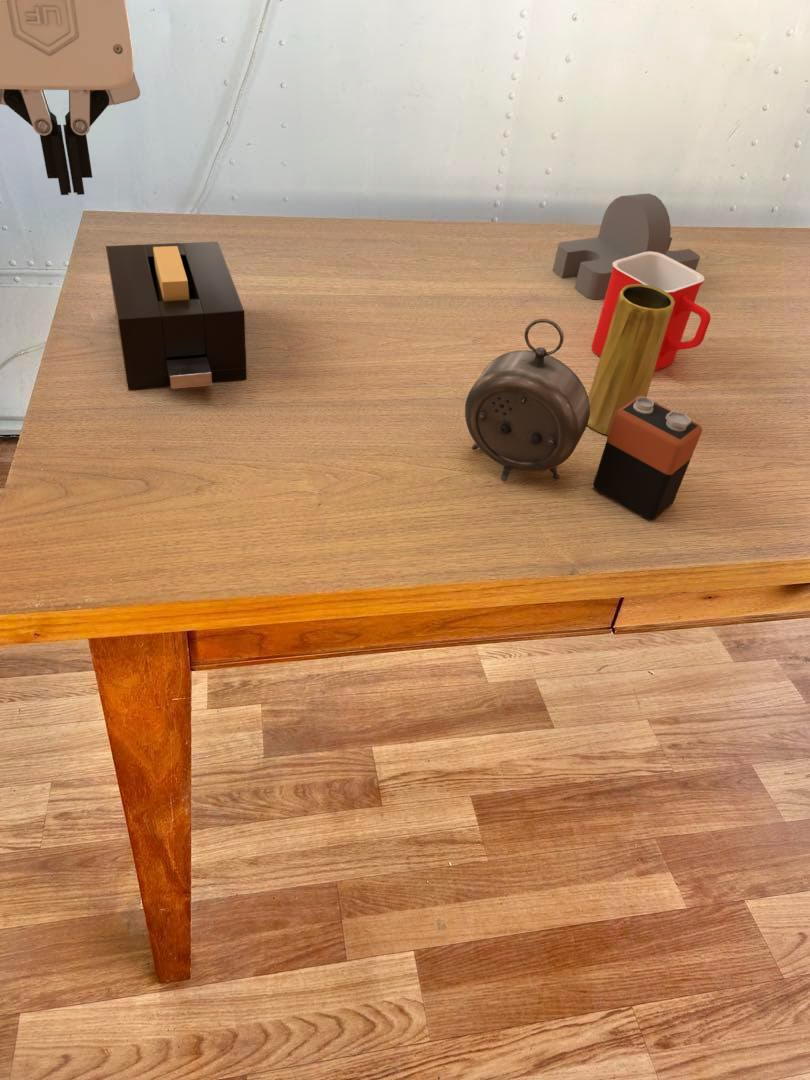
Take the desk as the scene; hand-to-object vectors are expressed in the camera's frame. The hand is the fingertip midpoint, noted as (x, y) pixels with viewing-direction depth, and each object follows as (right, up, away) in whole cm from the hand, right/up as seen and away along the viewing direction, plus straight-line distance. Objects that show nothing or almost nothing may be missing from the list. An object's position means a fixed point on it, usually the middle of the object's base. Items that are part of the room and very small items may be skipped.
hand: (71, 187), depth 61 cm
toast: (-1, -3, +32) cm, 32 cm away
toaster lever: (+2, -9, +25) cm, 27 cm away
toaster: (-1, -4, +33) cm, 33 cm away
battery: (+45, -21, +21) cm, 54 cm away
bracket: (+54, +11, +57) cm, 79 cm away
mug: (+52, -4, +40) cm, 66 cm away
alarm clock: (+34, -19, +22) cm, 45 cm away
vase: (+45, -13, +30) cm, 56 cm away
